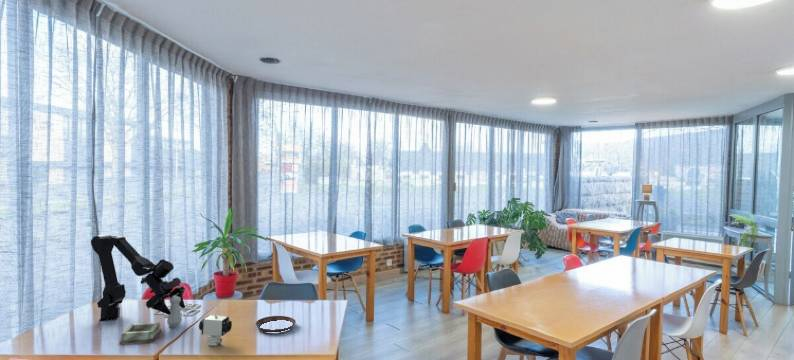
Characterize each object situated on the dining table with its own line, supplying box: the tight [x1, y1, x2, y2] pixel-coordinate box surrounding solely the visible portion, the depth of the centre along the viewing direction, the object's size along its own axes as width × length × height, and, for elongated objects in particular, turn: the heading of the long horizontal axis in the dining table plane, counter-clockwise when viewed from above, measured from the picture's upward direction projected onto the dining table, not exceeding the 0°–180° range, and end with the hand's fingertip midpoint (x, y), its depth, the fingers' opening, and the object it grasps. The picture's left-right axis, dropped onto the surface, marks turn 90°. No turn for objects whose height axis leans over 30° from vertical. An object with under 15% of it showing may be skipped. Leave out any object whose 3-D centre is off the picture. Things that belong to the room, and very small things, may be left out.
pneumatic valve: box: [198, 314, 233, 347], centre depth 166 cm, size 6×12×12 cm, turn 86°
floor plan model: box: [153, 302, 202, 319], centre depth 203 cm, size 19×25×2 cm
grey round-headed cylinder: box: [166, 296, 183, 328], centre depth 183 cm, size 6×6×13 cm
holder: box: [118, 322, 162, 345], centre depth 169 cm, size 12×12×4 cm
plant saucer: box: [255, 315, 297, 333], centre depth 186 cm, size 18×18×3 cm
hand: (177, 310), depth 183 cm, fingers open, 9 cm apart
